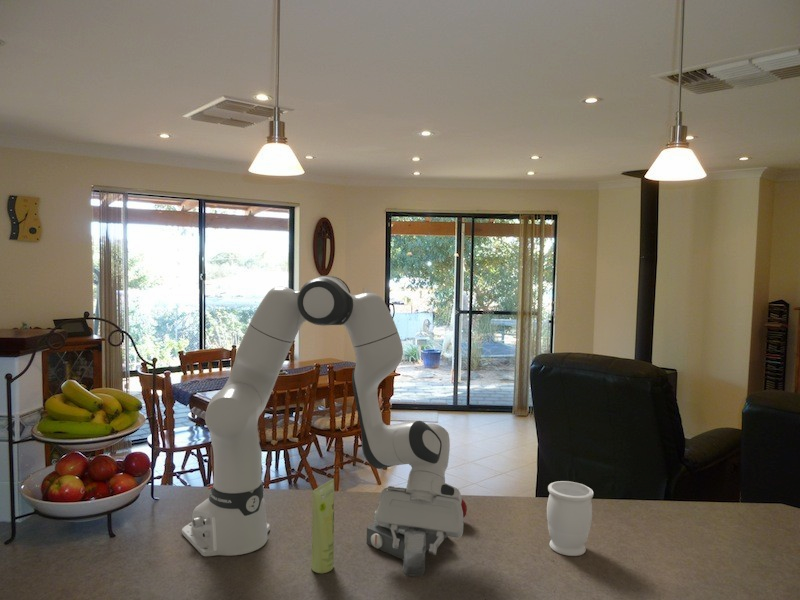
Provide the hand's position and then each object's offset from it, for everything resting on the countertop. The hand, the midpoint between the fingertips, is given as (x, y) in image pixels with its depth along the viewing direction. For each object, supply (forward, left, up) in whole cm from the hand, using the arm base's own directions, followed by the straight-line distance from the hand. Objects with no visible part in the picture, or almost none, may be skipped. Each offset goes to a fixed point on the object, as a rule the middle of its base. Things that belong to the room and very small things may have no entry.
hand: (413, 550), depth 130 cm
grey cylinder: (0, +1, -5) cm, 5 cm away
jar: (+22, +34, -5) cm, 40 cm away
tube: (-16, -12, -5) cm, 21 cm away
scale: (-10, +11, -5) cm, 15 cm away
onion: (-6, +27, -5) cm, 28 cm away
